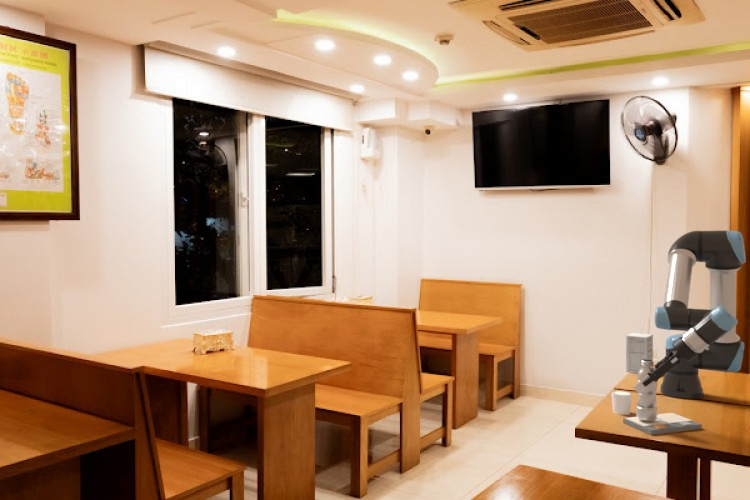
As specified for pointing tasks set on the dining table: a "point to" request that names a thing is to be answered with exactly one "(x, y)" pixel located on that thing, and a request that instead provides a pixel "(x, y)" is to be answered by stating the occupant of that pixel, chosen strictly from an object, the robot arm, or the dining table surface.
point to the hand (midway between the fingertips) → (638, 386)
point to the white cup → (621, 402)
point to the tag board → (663, 424)
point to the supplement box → (638, 350)
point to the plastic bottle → (646, 394)
